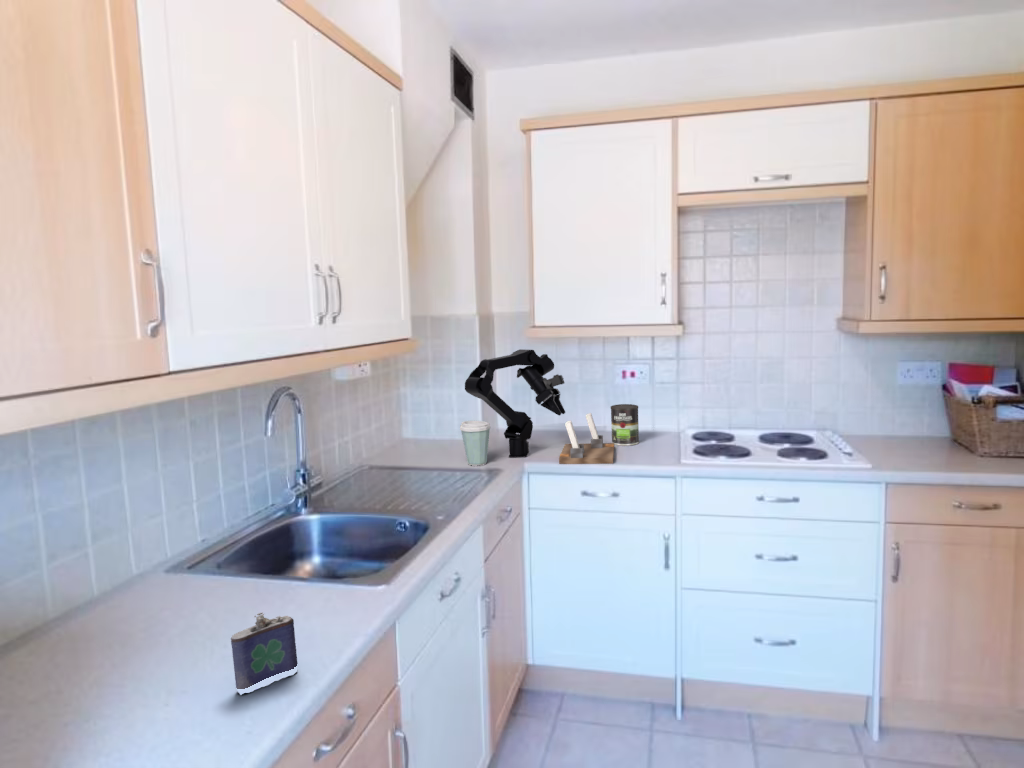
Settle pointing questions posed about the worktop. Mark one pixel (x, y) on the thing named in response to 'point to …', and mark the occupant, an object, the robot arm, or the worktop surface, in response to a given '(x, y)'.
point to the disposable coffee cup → (475, 441)
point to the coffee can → (624, 424)
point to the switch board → (588, 453)
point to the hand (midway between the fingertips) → (562, 414)
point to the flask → (263, 650)
